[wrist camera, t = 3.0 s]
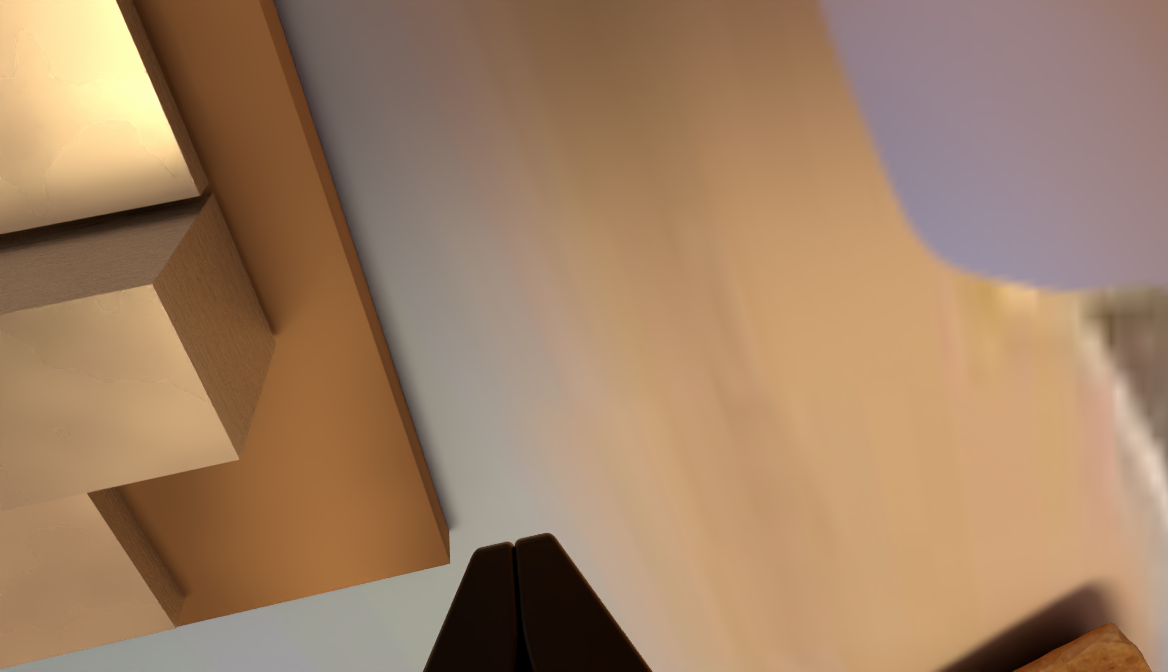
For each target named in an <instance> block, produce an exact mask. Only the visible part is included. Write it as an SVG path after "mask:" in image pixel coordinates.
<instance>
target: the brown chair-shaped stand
mask: <svg viewBox="0 0 1168 672" xmlns="http://www.w3.org/2000/svg"><path fill="white" fill-rule="evenodd" d="M1013 672H1152V671H1151V670H1150V668H1149V666H1148V664H1147V663H1146V661H1145V659H1144V657H1143V655H1142V653H1141V652H1140V651H1139V649H1138V648H1137V646H1136V645H1135V644H1133V643H1132V642H1131V641H1129V640H1128V639H1127V638H1126V637H1125V636H1124V634H1123V633H1122V632H1121V631H1120V630H1119V628H1118V627H1117V626H1116V625H1115V624H1113V623H1107V624H1105V625H1103V626H1101V627H1099V628H1096V629H1094V630H1092V631H1090V632H1088V633H1086V634H1084V635H1083V636H1081V637H1079V638H1077V639H1075V640H1073V641H1071V642H1069V643H1067V644H1065V645H1063V646H1061V647H1059V648H1057V649H1055V650H1052V651H1051V652H1049V653H1047V654H1046V655H1044V656H1042V657H1041V658H1039V659H1037V660H1035V661H1033V662H1031V663H1029V664H1027V665H1025V666H1023V667H1021V668H1019V669H1017V670H1015V671H1013Z"/></svg>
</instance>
